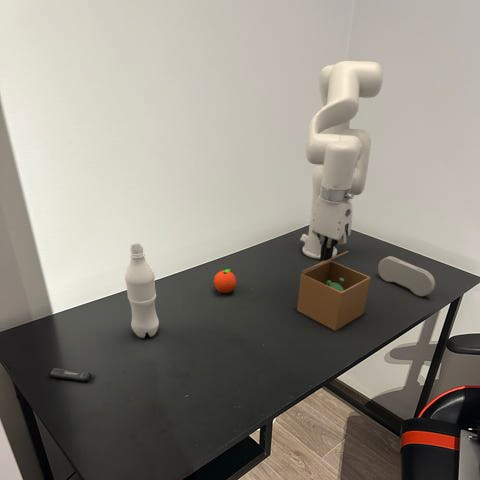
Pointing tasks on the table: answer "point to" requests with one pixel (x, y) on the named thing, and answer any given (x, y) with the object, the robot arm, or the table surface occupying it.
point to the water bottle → (141, 293)
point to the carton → (332, 294)
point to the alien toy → (335, 285)
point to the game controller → (406, 275)
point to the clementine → (225, 281)
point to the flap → (324, 261)
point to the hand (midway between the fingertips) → (325, 258)
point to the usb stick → (70, 374)
